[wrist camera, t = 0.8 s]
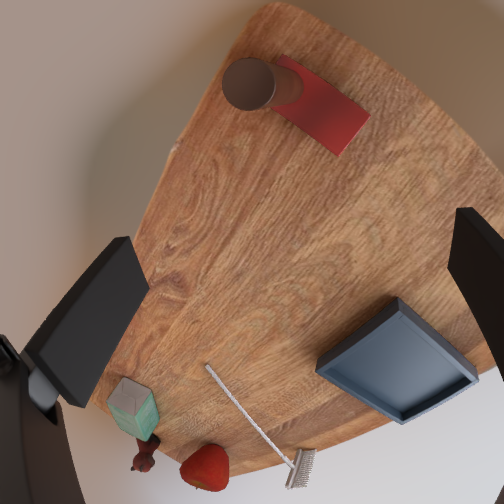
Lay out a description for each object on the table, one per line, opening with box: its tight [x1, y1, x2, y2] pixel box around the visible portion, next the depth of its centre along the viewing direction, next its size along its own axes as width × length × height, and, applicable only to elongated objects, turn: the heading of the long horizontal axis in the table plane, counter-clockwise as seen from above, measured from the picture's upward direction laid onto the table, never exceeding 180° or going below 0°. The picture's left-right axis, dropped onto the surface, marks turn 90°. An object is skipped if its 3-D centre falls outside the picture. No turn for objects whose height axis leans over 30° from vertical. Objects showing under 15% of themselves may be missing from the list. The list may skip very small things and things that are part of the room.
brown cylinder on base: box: [222, 54, 371, 157], centre depth 20 cm, size 8×4×12 cm, turn 57°
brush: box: [205, 364, 317, 489], centre depth 46 cm, size 4×27×9 cm, turn 39°
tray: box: [315, 297, 479, 425], centre depth 34 cm, size 18×14×2 cm
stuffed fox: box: [131, 434, 161, 472], centre depth 67 cm, size 8×11×12 cm
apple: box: [179, 444, 229, 492], centre depth 57 cm, size 11×11×12 cm
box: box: [106, 377, 160, 441], centre depth 58 cm, size 7×14×8 cm, turn 174°
